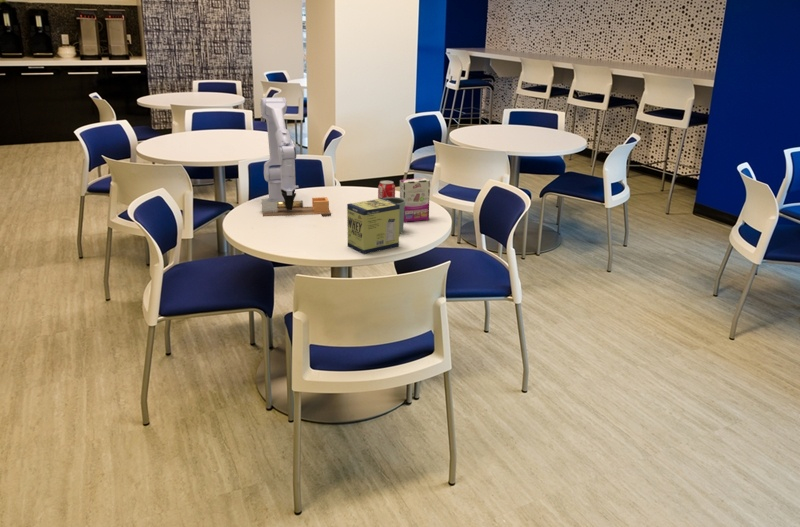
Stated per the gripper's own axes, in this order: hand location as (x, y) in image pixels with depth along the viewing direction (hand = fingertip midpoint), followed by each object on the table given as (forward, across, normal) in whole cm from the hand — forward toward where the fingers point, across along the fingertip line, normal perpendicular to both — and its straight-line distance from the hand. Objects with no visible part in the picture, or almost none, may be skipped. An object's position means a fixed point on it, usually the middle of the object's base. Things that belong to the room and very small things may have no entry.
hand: (289, 208), depth 276 cm
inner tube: (0, 0, +2) cm, 3 cm away
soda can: (+2, 0, -40) cm, 40 cm away
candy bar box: (+2, -16, -48) cm, 51 cm away
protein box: (+2, -46, -26) cm, 53 cm away
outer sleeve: (+1, 0, +8) cm, 8 cm away
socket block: (+2, 0, -13) cm, 13 cm away
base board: (+2, 0, -3) cm, 4 cm away
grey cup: (+2, -29, -36) cm, 47 cm away
